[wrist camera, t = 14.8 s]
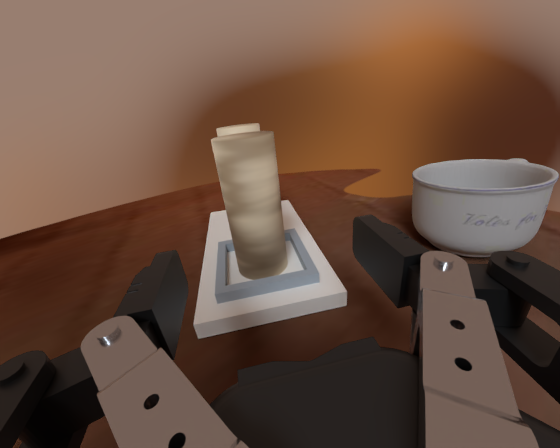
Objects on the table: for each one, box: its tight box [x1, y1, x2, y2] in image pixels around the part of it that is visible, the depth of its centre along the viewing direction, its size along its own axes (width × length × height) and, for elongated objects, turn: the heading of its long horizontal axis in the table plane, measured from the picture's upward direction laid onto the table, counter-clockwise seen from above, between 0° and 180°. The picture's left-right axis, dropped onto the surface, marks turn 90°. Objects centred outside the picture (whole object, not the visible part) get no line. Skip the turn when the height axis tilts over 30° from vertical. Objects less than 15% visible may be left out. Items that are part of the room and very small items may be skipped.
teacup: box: [412, 158, 559, 257], centre depth 26 cm, size 14×11×8 cm
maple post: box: [211, 131, 288, 280], centre depth 22 cm, size 5×5×12 cm
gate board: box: [193, 123, 347, 339], centre depth 27 cm, size 22×12×14 cm, turn 11°
